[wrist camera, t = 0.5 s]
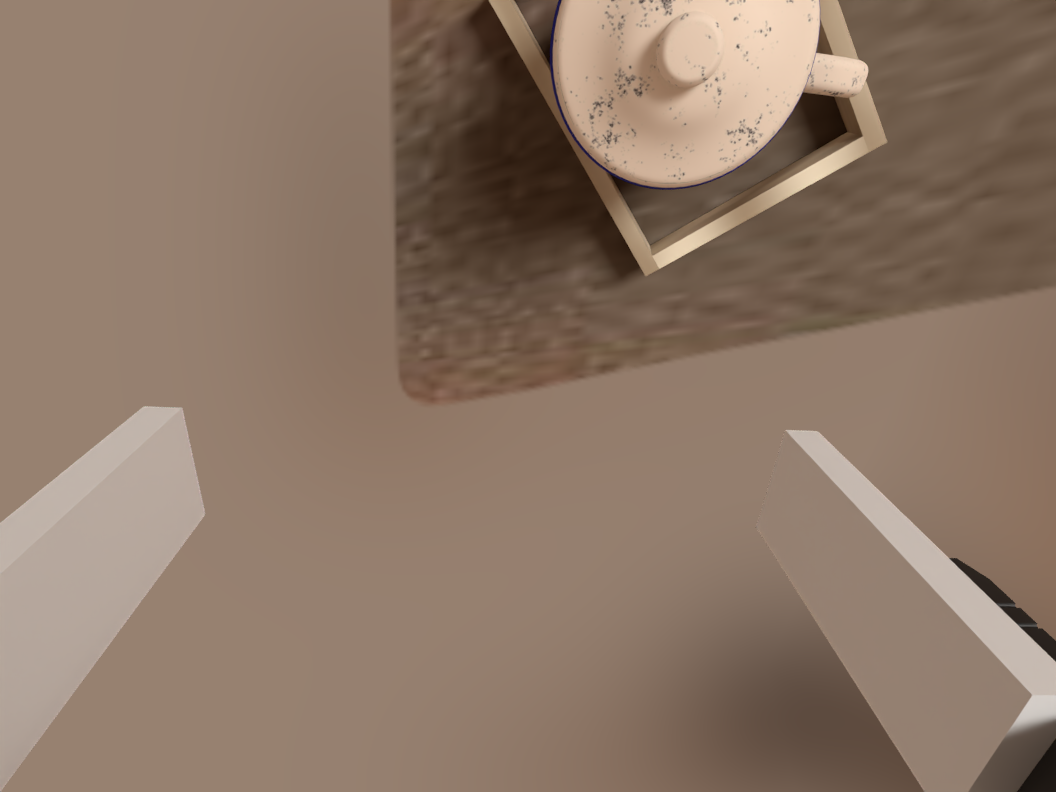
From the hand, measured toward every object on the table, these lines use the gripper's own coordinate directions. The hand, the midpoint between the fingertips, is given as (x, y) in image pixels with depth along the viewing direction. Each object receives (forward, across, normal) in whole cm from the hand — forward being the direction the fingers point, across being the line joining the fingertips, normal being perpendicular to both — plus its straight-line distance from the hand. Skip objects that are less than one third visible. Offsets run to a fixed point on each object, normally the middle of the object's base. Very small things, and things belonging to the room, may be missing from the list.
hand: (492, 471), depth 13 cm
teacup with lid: (+20, +9, +10) cm, 24 cm away
